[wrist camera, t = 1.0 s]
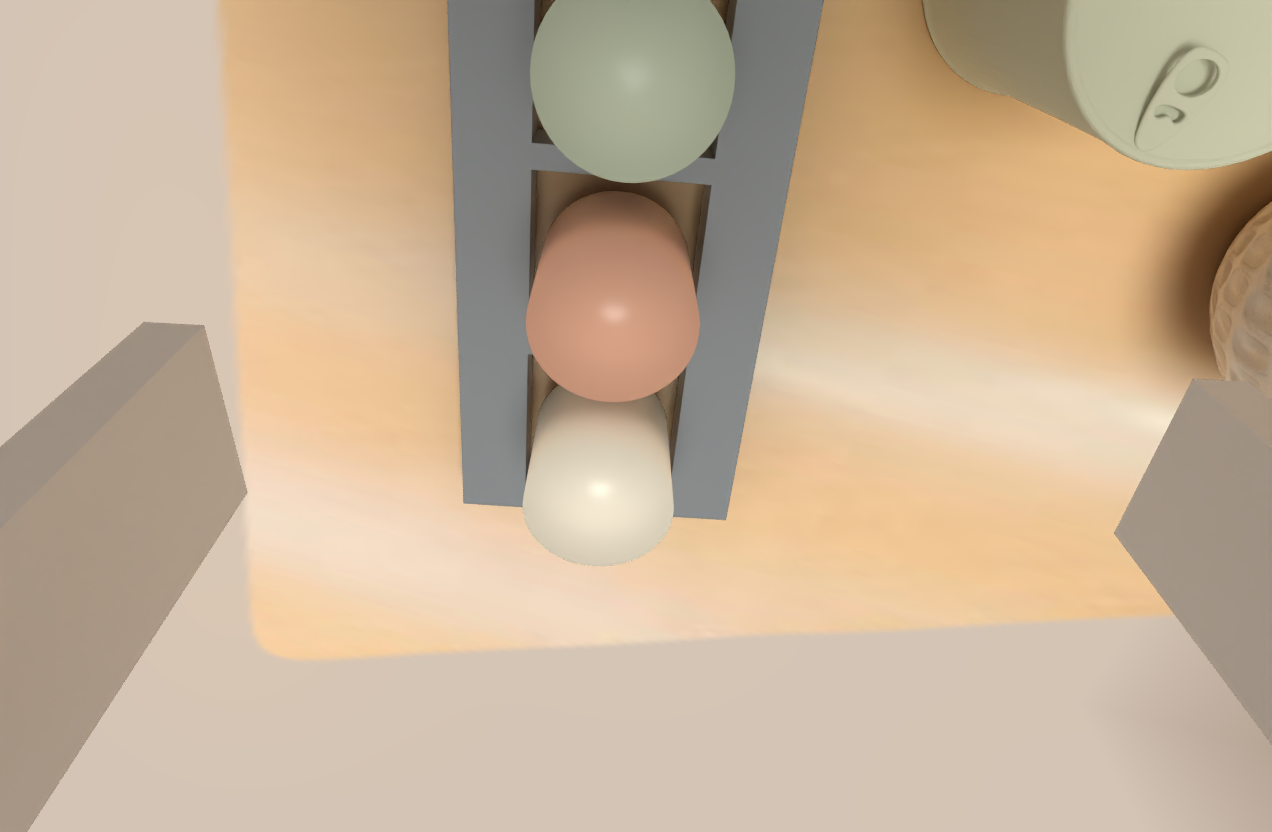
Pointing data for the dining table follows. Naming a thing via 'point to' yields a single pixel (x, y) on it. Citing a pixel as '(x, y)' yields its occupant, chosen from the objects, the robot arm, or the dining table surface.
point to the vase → (1245, 306)
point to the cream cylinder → (599, 478)
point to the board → (515, 149)
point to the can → (1125, 70)
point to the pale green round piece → (632, 83)
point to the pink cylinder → (613, 299)
